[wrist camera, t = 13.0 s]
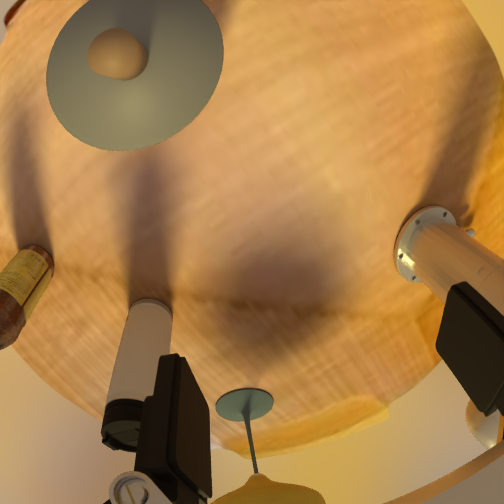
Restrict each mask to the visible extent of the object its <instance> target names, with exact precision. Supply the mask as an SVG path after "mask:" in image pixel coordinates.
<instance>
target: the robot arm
mask: <svg viewBox="0 0 504 504" xmlns="http://www.w3.org/2000/svg"><path fill="white" fill-rule="evenodd" d="M474 235H475V232H474V230H473V229H472V228H471V229H468V230H466V231H464V230H463V229H461V228H460V227H458V226H457V223H456V220H455V218H454V216H453V215H452V213H450V212H449V211H448V210H447V209H445V208H443V207H440V206H427V207H424V208H422V209H420V210H419V211H417V212H416V213H415V214H413V215H412V216H411V217H410V218H409V219H408V220H407V222H406V223H405V225H404V226H403V227H402V229H401V231H400V233H399V235H398V238H397V240H396V244H395V248H394V263H395V266H396V269H397V271H398V272H399V274H400V275H401V276H402V277H403V278H405V279H406V280H407V281H410V282H417V283H418V282H423V283H424V284H425V285H426V286H427V287H428V288H429V289H430V290H431V291H432V292H433V293H434V294H435V295H436V296H437V297H438V298H439V299H440V300H441V301H442V302H443V303H444V304H445V308H444V312H443V316H442V321H441V325H440V329H439V333H438V336H437V340H436V350H437V352H438V353H439V355H440V356H441V357H442V359H443V360H444V361H445V363H446V364H447V366H448V367H449V368H450V370H451V371H452V372H453V374H454V375H455V377H456V378H457V380H458V381H459V383H460V384H461V385H462V387H463V388H464V390H465V391H466V393H467V394H468V396H469V397H470V401H469V403H468V406H467V408H466V421H467V425H468V427H469V429H470V431H471V432H472V434H473V435H474V437H475V438H476V439H477V440H478V441H479V442H480V443H481V444H482V445H483V446H484V447H485V448H486V449H488V451H486V452H484V453H483V454H481V455H480V456H478V457H477V458H475V459H473V460H472V461H470V462H468V463H467V464H465V465H463V466H462V467H460V468H458V469H456V470H455V471H453V472H451V473H449V474H447V475H445V476H443V477H442V478H440V479H438V480H436V481H434V482H432V483H430V484H428V485H426V486H424V487H421V488H419V489H417V490H415V491H413V492H410V493H408V494H406V495H404V496H401V497H399V498H396V499H394V500H391V501H389V502H386V503H384V504H504V260H503V259H502V258H500V257H499V256H498V255H496V254H495V253H493V252H492V251H491V250H489V249H488V248H486V247H485V246H483V245H482V244H481V243H479V242H478V241H476V240H475V239H473V238H472V237H474ZM211 497H212V478H211V452H210V414H209V407H208V404H207V402H206V400H205V398H204V396H203V394H202V392H201V390H200V388H199V386H198V384H197V382H196V379H195V377H194V375H193V373H192V371H191V369H190V367H189V365H188V362H187V360H186V358H185V357H180V356H179V354H177V353H175V354H168V355H161V356H160V357H159V361H158V367H157V373H156V380H155V386H154V392H153V395H151V396H147V397H146V398H145V400H144V404H143V410H142V416H141V423H140V430H139V436H138V444H137V451H136V459H135V467H134V471H129V472H124V473H122V474H120V475H118V476H117V477H116V478H115V479H114V480H113V482H112V483H111V485H110V489H109V498H110V499H109V500H108V501H106V502H105V503H103V504H207V498H211Z"/></svg>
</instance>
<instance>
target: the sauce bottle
mask: <svg viewBox="0 0 504 504" xmlns="http://www.w3.org/2000/svg"><path fill="white" fill-rule="evenodd" d="M53 273H54V267H53V262H52V259H51V257H50V256H49V254H48V253H47V252H46V251H45V250H44V249H42V248H41V247H39V246H37V245H28V246H26V247H24V248H23V249H22V250H21V251H19V252H18V253H17V254H16V255H15V256H14V257H13V259H12V260H11V261H10V262H9V263H8V265H7V266H6V267H5V268H4V269H3V270H2V272H1V273H0V350H1V349H4V348H6V347H8V346H9V345H11V344H13V343H14V342H15V341H16V339H17V338H18V336H19V334H20V332H21V330H22V328H23V327H24V326H25V324H26V322H27V321H28V319H29V317H30V315H31V314H32V312H33V310H34V308H35V307H36V305H37V303H38V301H39V300H40V298H41V296H42V295H43V293H44V292H45V290H46V288H47V287H48V285H49V283H50V281H51V279H52V277H53Z"/></svg>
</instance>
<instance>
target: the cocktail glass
mask: <svg viewBox="0 0 504 504" xmlns="http://www.w3.org/2000/svg"><path fill="white" fill-rule="evenodd" d="M272 406H273V398H272V397H271V396H270V395H269V394H268V393H266V392H264V391H262V390H257V389H241V390H236V391H233V392H230V393H228V394H226V395H224V396H223V397H221V398H220V399H219V400H218V402H217V403H216V411H217V413H218V414H219V415H220V416H221V417H223V418H225V419H227V420H231V421H245V425H246V430H247V435H248V440H249V445H250V451H251V456H252V462H253V467H254V473H255V474H253V475H252V476H251V477H250V478H249V480H248V481H247V482H246V484H245V485H244V486H242V487H241V488H239V489H237V490H235V491H232V492H230V493H228V494H226V495H224V496H222V497H220V498H218V499H216V500H215V501H214V502H212V503H211V504H325V500H324V499H323V497H322V495H321V494H320V493H319V492H317V491H316V490H313V489H311V488H308V487H305V486H300V485H295V484H287V483H279V482H274V481H271V480H270V479H268V478H267V477H266V476H265V475H263V474H260V473H258V468H257V464H256V458H255V452H254V446H253V440H252V434H251V428H250V420H254V419H257V418H260V417H262V416H264V415H265V414H267V413H268V412H269V411H270V410H271V408H272Z"/></svg>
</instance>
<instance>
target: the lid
mask: <svg viewBox="0 0 504 504" xmlns="http://www.w3.org/2000/svg"><path fill="white" fill-rule="evenodd" d="M223 54H224V47H223V39H222V35H221V31H220V28H219V25H218V23H217V21H216V19H215V17H214V15H213V14H212V12H211V11H210V9H209V8H208V7H207V6H206V5H205V4H204V3H203V2H202V1H201V0H90V1H88V2H87V3H86V4H84V5H83V6H82V7H81V8H80V9H79V10H77V11H76V12H75V13H74V14H73V16H72V17H71V18H70V19H69V20H68V21H67V23H66V24H65V25H64V27H63V28H62V30H61V31H60V33H59V35H58V37H57V38H56V40H55V43H54V45H53V47H52V50H51V53H50V57H49V60H48V65H47V73H46V85H47V93H48V97H49V101H50V104H51V107H52V109H53V111H54V114H55V115H56V117H57V119H58V120H59V122H60V123H61V124H62V125H63V127H64V128H65V129H66V130H67V131H68V132H69V133H70V134H72V135H73V136H74V137H75V138H77V139H79V140H80V141H82V142H84V143H86V144H88V145H90V146H93V147H96V148H99V149H103V150H110V151H130V150H138V149H142V148H146V147H149V146H152V145H155V144H158V143H160V142H162V141H164V140H166V139H168V138H170V137H172V136H173V135H175V134H176V133H178V132H179V131H181V130H182V129H183V128H184V127H186V126H187V125H188V124H189V123H191V122H192V121H193V120H194V119H195V118H196V117H197V116H198V114H199V113H200V112H201V111H202V110H203V108H204V107H205V106H206V104H207V103H208V101H209V100H210V98H211V96H212V95H213V93H214V90H215V88H216V86H217V84H218V81H219V78H220V74H221V71H222V65H223Z"/></svg>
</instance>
